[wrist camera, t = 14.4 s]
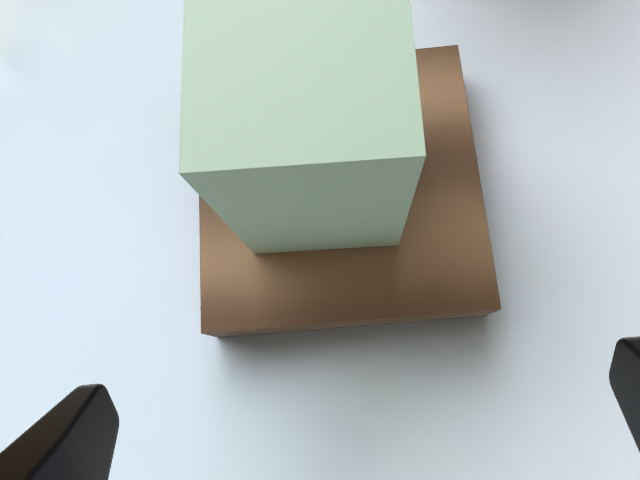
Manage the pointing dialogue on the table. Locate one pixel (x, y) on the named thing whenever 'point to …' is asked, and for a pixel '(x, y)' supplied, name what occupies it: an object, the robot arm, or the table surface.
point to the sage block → (302, 119)
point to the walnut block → (371, 262)
